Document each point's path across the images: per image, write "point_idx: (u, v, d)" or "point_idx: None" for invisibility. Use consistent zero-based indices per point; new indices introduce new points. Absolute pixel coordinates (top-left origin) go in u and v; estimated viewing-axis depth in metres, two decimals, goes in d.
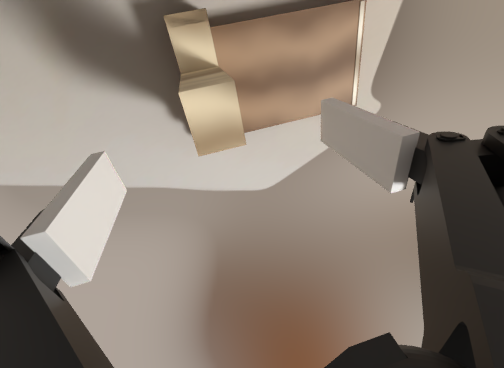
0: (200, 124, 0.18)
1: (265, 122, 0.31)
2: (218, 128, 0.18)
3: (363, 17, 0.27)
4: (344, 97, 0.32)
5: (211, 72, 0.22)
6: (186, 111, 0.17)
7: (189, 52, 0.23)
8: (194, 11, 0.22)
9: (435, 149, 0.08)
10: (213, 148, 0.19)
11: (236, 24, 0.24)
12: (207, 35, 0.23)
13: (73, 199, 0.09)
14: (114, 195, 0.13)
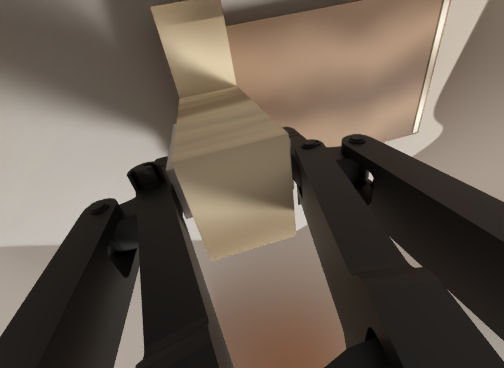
0: (215, 213, 0.09)
1: None
2: (249, 216, 0.09)
3: (446, 11, 0.18)
4: (403, 122, 0.23)
5: (229, 100, 0.13)
6: (188, 194, 0.08)
7: (192, 65, 0.15)
8: (201, 0, 0.13)
9: (302, 157, 0.09)
10: (237, 247, 0.10)
11: (265, 21, 0.16)
12: (221, 39, 0.15)
13: None
14: None
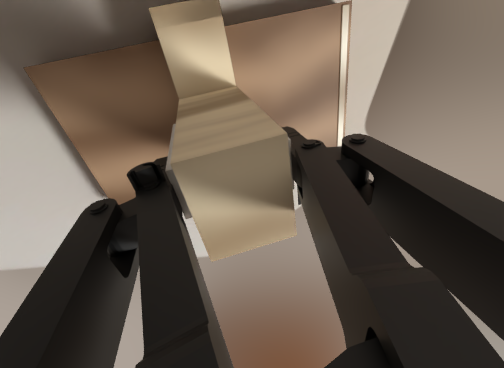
0: (215, 214, 0.09)
1: None
2: (249, 216, 0.09)
3: (347, 30, 0.17)
4: (325, 141, 0.22)
5: (228, 100, 0.13)
6: (188, 195, 0.08)
7: (191, 66, 0.15)
8: (199, 0, 0.13)
9: (303, 157, 0.09)
10: (237, 247, 0.10)
11: (139, 46, 0.15)
12: (220, 39, 0.15)
13: None
14: None
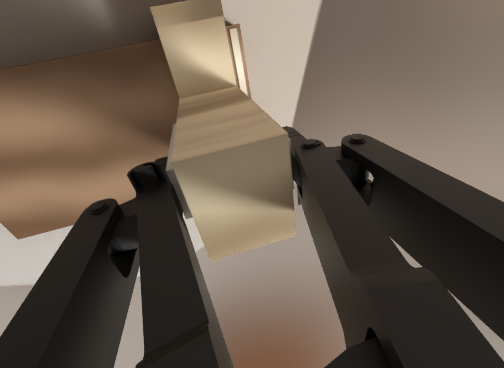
0: (215, 213, 0.09)
1: None
2: (249, 216, 0.09)
3: (240, 53, 0.16)
4: None
5: (229, 100, 0.13)
6: (188, 194, 0.08)
7: (192, 65, 0.15)
8: (201, 0, 0.13)
9: (302, 157, 0.09)
10: (237, 247, 0.10)
11: (0, 72, 0.14)
12: (221, 39, 0.15)
13: None
14: None
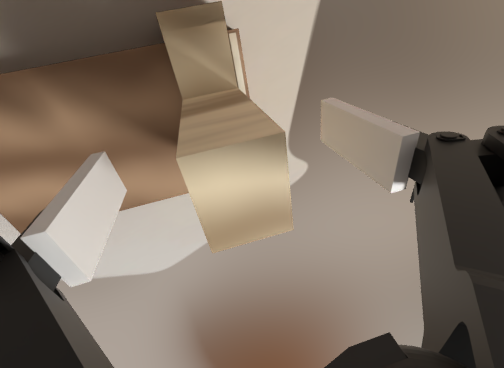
0: (216, 207, 0.10)
1: None
2: (248, 209, 0.10)
3: (239, 57, 0.17)
4: None
5: (230, 101, 0.14)
6: (191, 188, 0.09)
7: (195, 68, 0.16)
8: (204, 6, 0.14)
9: (435, 149, 0.08)
10: (237, 240, 0.11)
11: (10, 75, 0.15)
12: (223, 43, 0.15)
13: (73, 199, 0.09)
14: (114, 195, 0.13)
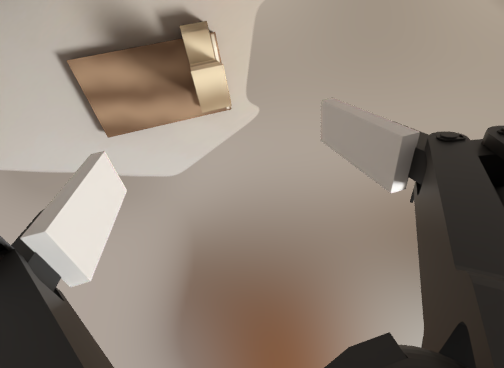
0: (203, 91, 0.29)
1: (156, 122, 0.41)
2: (214, 94, 0.30)
3: (216, 45, 0.37)
4: None
5: (210, 62, 0.33)
6: (195, 83, 0.29)
7: (195, 49, 0.35)
8: (199, 23, 0.34)
9: (435, 149, 0.08)
10: (211, 107, 0.31)
11: (116, 52, 0.34)
12: (207, 38, 0.35)
13: (73, 199, 0.09)
14: (114, 195, 0.13)
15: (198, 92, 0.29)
